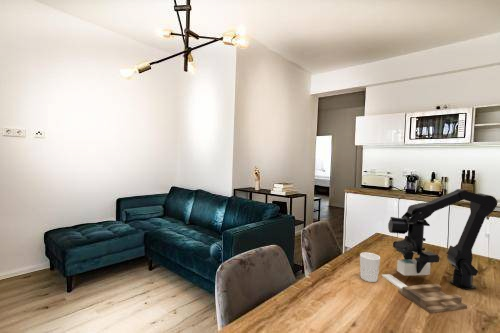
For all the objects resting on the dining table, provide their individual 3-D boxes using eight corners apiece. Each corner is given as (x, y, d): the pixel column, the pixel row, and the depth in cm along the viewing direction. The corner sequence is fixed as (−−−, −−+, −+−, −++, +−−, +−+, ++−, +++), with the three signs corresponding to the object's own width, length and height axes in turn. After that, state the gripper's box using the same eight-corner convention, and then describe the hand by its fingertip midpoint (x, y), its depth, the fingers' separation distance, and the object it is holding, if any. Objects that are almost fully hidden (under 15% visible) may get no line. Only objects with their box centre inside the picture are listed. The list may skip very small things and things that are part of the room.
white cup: (367, 283, 109) (368, 260, 109) (355, 275, 117) (356, 253, 116) (383, 282, 111) (384, 258, 111) (370, 273, 119) (371, 251, 118)
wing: (389, 276, 118) (390, 274, 118) (410, 290, 106) (410, 287, 106) (381, 277, 117) (381, 274, 117) (401, 291, 105) (401, 288, 105)
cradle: (431, 288, 107) (431, 281, 107) (466, 308, 93) (467, 300, 93) (398, 291, 103) (398, 284, 103) (430, 313, 90) (430, 304, 90)
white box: (421, 270, 118) (422, 258, 117) (429, 274, 113) (430, 262, 113) (396, 270, 116) (397, 258, 116) (404, 275, 111) (404, 262, 111)
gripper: (383, 229, 121) (381, 262, 122) (418, 242, 103) (415, 282, 104) (404, 228, 124) (402, 261, 124) (441, 241, 105) (438, 279, 106)
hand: (413, 270), depth 114 cm, fingers closed on white box, 5 cm apart
